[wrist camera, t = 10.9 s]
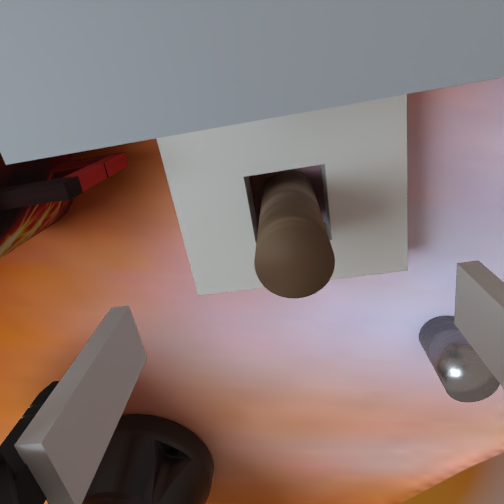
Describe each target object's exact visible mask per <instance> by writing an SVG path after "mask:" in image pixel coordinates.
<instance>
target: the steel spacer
mask: <svg viewBox="0 0 504 504" xmlns="http://www.w3.org/2000/svg"><path fill="white" fill-rule="evenodd" d="M419 340H420V343H421V345H422V347H423V349H424V350H425V352H426V354H427V356H428V358H429V360H430V362H431V363H432V365H433V367H434V369H435V371H436V373H437V375H438V377H439V378H440V380H441V382H442V384H443V386H444V388H445V390H446V391H447V393H448V395H449V396H450V397H452V398H453V399H455V400H458V401H461V402H476V401H480V400H483V399H485V398H487V397H489V396H490V395H492V394H493V393H494V392H495V391H496V390H497V388H498V387H499V385H500V383H499V382H498V380H497V379H496V378H495V376H494V375H493V374H492V372H491V371H490V370H489V369H488V367H487V366H486V365H485V363H484V362H483V361H482V359H481V358H480V357H479V355H478V354H477V353H476V352H475V350H474V349H473V348H472V346H471V345H470V344H469V342H468V341H467V340H466V338H465V337H464V336H463V335H462V333H461V332H460V331H459V329H458V328H457V327H456V325H455V324H454V317H452V316H439V317H436V318H433V319H431V320H429V321H428V322H427V323H425V324H424V325H423V327H422V328H421V330H420V333H419Z"/></svg>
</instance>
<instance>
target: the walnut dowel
mask: <svg viewBox="0 0 504 504" xmlns="http://www.w3.org/2000/svg"><path fill="white" fill-rule="evenodd" d="M254 266H255V271H256V274H257V277H258V279H259V280H260V282H261V283H262V284H263V286H264V287H265V288H267V289H268V290H269V291H271V292H272V293H274V294H276V295H279V296H282V297H286V298H302V297H306V296H309V295H312V294H314V293H316V292H318V291H319V290H320V289H322V288H323V287H324V286H325V285H326V284H327V283H328V281H329V280H330V278H331V276H332V274H333V271H334V267H335V256H334V252H333V249H332V246H331V243H330V240H329V237H328V233H327V230H326V227H325V224H324V221H323V218H322V215H321V212H320V209H319V205H318V202H317V199H316V196H315V193H314V190H313V187H312V184H311V182H310V181H309V179H308V178H307V177H306V176H305V175H304V174H302V173H300V172H298V171H295V170H284V171H279V172H277V173H275V174H274V175H272V176H271V177H270V178H269V179H268V180H267V182H266V183H265V185H264V188H263V193H262V201H261V210H260V218H259V226H258V235H257V243H256V251H255V260H254Z"/></svg>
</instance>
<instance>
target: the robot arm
mask: <svg viewBox="0 0 504 504" xmlns="http://www.w3.org/2000/svg"><path fill="white" fill-rule="evenodd" d="M454 324H455V325H456V327H457V328H458V329H459V331H460V332H461V333H462V335H463V336H464V337H465V338H466V340H467V341H468V342H469V344H470V345H471V346H472V348H473V349H474V350H475V352H476V353H477V354H478V355H479V357H480V358H481V359H482V361H483V362H484V363H485V365H486V366H487V367H488V369H489V370H490V371H491V372H492V374H493V375H494V376H495V378H496V379H497V380H498V382H499V383H500V384H501V386H502V387H503V388H504V282H503V281H501V280H500V279H499V278H498V277H497V276H496V275H494V274H493V273H492V272H491V271H490V270H489V269H487V268H486V267H485V266H484V265H483V264H482V263H480V262H479V261H472V262H464V263H457V275H456V296H455V317H454ZM146 360H147V356H146V353H145V350H144V347H143V345H142V342H141V339H140V336H139V333H138V330H137V327H136V325H135V322H134V319H133V316H132V313H131V310H130V308H129V306H122V307H114V308H111V309H110V311H109V312H108V314H107V315H106V316H105V318H104V319H103V321H102V322H101V323H100V325H99V326H98V328H97V329H96V331H95V332H94V333H93V335H92V336H91V338H90V339H89V340H88V342H87V343H86V345H85V346H84V347H83V349H82V350H81V352H80V353H79V355H78V356H77V357H76V359H75V360H74V362H73V363H72V364H71V366H70V367H69V369H68V370H67V371H66V373H65V374H64V376H63V377H62V379H61V380H60V381H54V382H52V383H51V384H50V385H49V386H47V387H46V388H45V389H44V390H43V391H42V392H40V393H39V395H38V396H37V397H36V399H35V400H34V401H33V403H32V404H31V405H30V408H28V409H27V411H26V412H25V413H24V415H23V418H22V419H20V420H19V421H18V423H17V424H16V425H15V427H14V428H13V429H12V431H11V432H10V433H9V435H8V436H7V437H6V439H5V440H4V442H3V443H2V444H1V446H0V504H44V502H45V500H46V501H47V502H48V504H205V503H206V501H207V498H208V496H209V493H210V489H211V484H212V478H213V471H214V465H213V460H212V457H211V454H210V452H209V450H208V449H207V447H206V446H205V445H204V443H203V442H202V441H201V440H200V439H199V438H198V437H197V436H196V435H194V434H193V433H192V432H190V431H189V430H187V429H186V428H184V427H182V426H180V425H178V424H176V423H174V422H171V421H169V420H166V419H162V418H158V417H154V416H147V415H126V416H121V415H122V413H123V411H124V409H125V407H126V404H127V402H128V400H129V398H130V395H131V393H132V391H133V389H134V386H135V384H136V382H137V380H138V378H139V375H140V373H141V371H142V369H143V366H144V364H145V362H146Z"/></svg>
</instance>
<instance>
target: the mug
mask: <svg viewBox="0 0 504 504" xmlns="http://www.w3.org/2000/svg"><path fill="white" fill-rule="evenodd" d="M127 166H129V165H128V161H127V157H126V153H119V154H111V155H105V156H100V157H94V158H89V159H83V160H77V161H72V162H70V160H69V158H68V156H67V154H65V155H59V156H53V157H48V158H42V159H36V160H31V161H25V162H19V163H14V164H8V165H6V164H5V162H4V160H3V157H2V155H1V153H0V258H2V257H3V256H5V255H6V254H8V253H9V252H11V251H12V250H14V249H15V248H17V247H18V246H20V245H21V244H23V243H24V242H26V241H27V240H29V239H30V238H32V237H34V236H35V235H37V234H38V233H40V232H41V231H43V230H44V229H46V228H47V227H49V226H50V225H52V224H53V223H55V222H56V221H58V220H59V219H60V218H61V217H62V216H63V215H64V214H65V213H66V212H67V210H68V209H69V207H70V205H71V203H72V200H73V198H74V197H76V196H77V195H79V194H81V193H82V192H84V191H86V190H87V189H89V188H91V187H92V186H94V185H96V184H97V183H99V182H101V181H102V180H104V179H106V178H108V177H110V176H112V175H114V174H115V173H117V172H119V171H120V170H122V169H124V168H125V167H127Z"/></svg>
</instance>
